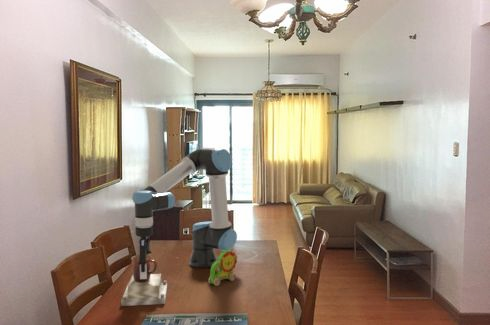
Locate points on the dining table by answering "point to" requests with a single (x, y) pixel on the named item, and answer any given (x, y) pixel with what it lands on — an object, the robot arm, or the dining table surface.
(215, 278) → the toy lion
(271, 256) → the dining table surface
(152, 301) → the mottled white flat box
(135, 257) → the mug
